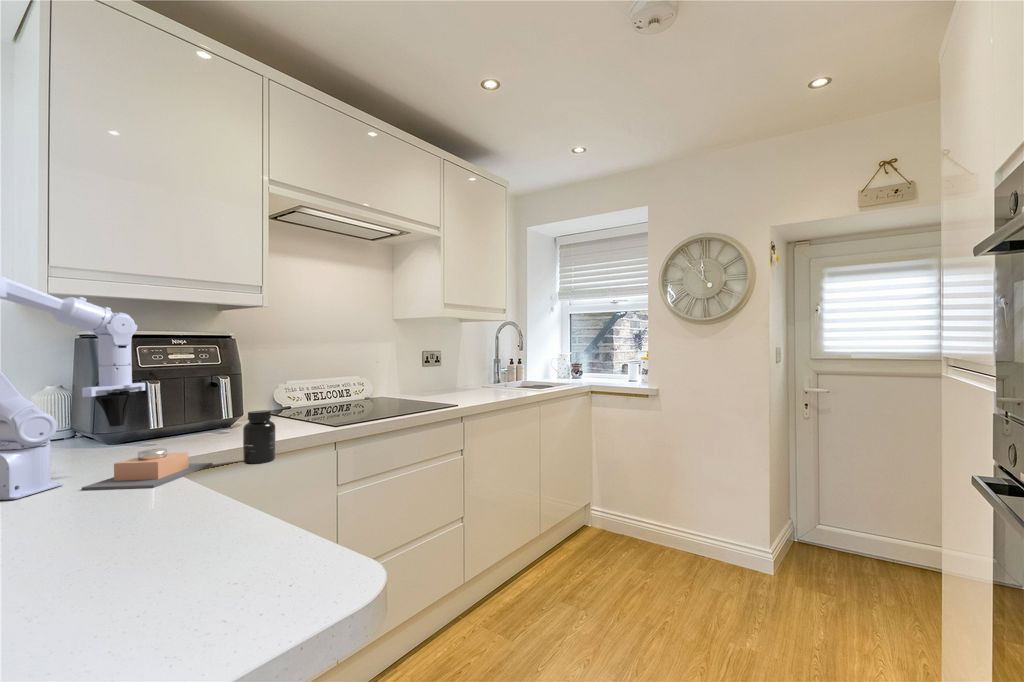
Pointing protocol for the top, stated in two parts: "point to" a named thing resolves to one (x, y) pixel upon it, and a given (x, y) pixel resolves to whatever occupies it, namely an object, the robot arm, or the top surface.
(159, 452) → the plunger
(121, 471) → the tan rectangular brick
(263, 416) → the supplement bottle
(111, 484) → the mat
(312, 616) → the top surface
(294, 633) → the top surface
